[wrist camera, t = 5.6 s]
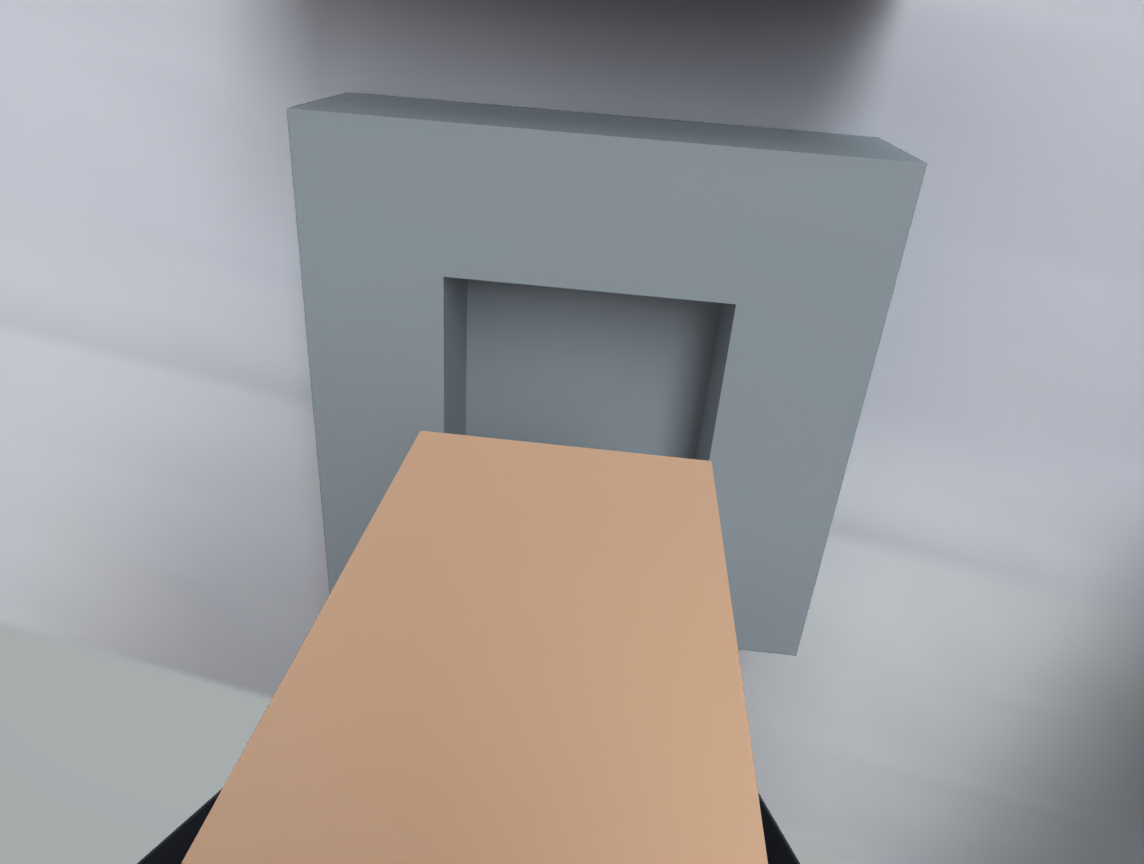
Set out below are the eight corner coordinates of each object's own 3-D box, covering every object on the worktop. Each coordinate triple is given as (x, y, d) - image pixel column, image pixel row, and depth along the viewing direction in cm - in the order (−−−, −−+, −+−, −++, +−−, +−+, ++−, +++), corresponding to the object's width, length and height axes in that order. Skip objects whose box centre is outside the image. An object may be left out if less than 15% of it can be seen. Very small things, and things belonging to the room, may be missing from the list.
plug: (711, 460, 12) (778, 940, 6) (673, 679, 14) (692, 1206, 8) (420, 430, 12) (181, 863, 6) (424, 650, 14) (249, 1142, 8)
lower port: (878, 137, 18) (926, 163, 15) (776, 571, 23) (796, 655, 20) (347, 92, 18) (286, 108, 15) (371, 527, 24) (330, 603, 21)
